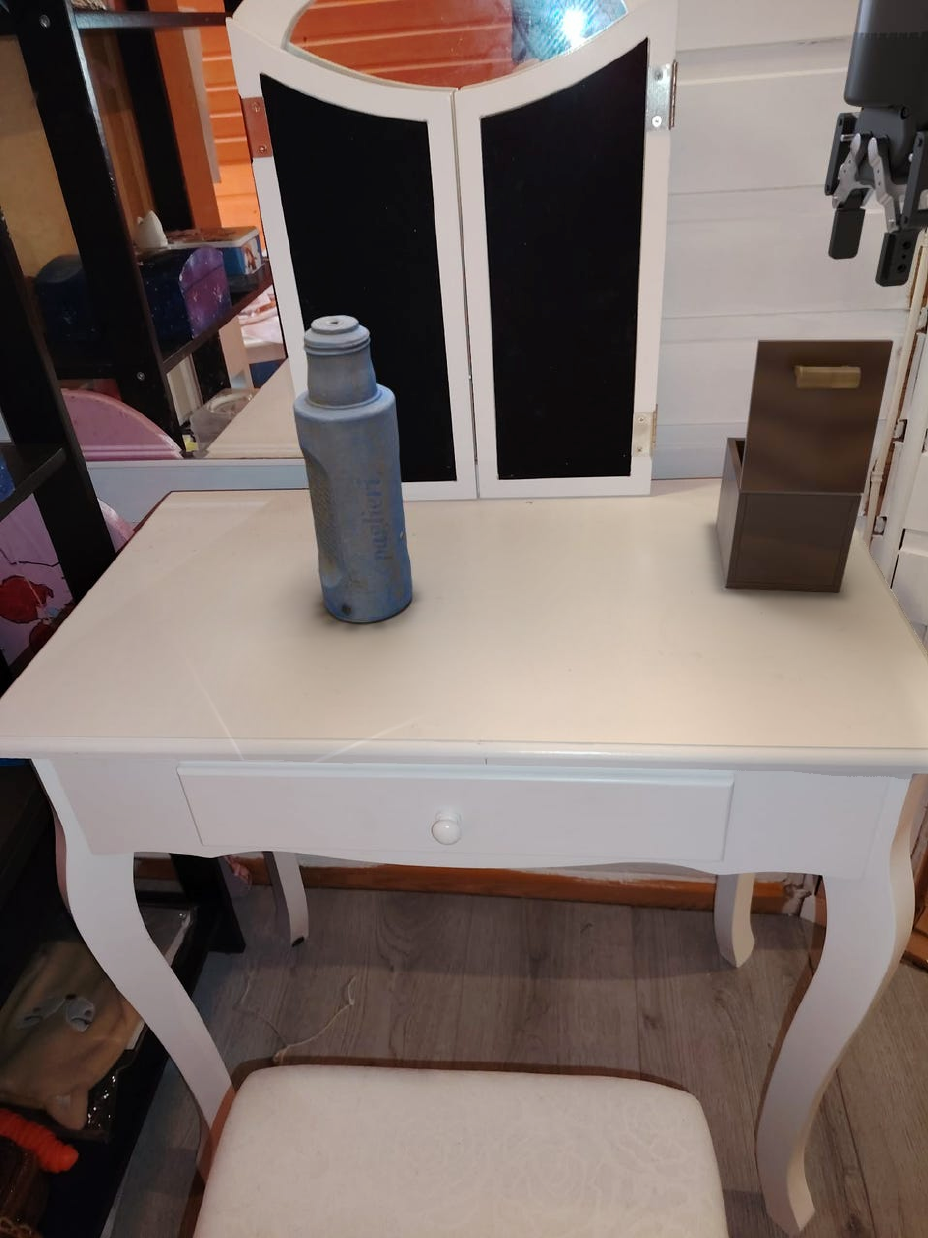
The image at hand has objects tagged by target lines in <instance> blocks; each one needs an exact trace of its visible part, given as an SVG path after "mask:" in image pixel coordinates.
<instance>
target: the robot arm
mask: <svg viewBox="0 0 928 1238" xmlns="http://www.w3.org/2000/svg"><path fill="white" fill-rule="evenodd" d="M849 55H850V56H849V60H848V61H849V62H848V66H847V72H846V78H845V83H844V90H843V100H844V103H846V104H847V105H848V106H850V107H855V108H860V111H852V112H840V113H839V114H838V116H837V118H836V124H835V128H834V129H835V130H834V134H833V140H832V144H831V145H832V146H831V151H830V156H829V160H828V166H827V171H826V177H825V181H824V182H825V183H824V187H823V188H824V191H823V193H824V196H825V197H830V196H832V199H831V206H832V208H833V209H835V211H834V216H833V221H832V228H831V234H830V239H829V245H828V251H827V255H828V257H829V258H830V259H833V260H834V261H838V260H840V261H841V260H851V259H854V258H855V257H856V256H857V255H858V253H859V249H860V243H861V237H862V233H863V227H864V223H865V217H866V212H867V209H866V208H863V207H866V205H867V204H868V203H869V201H870V199H871V197H872V195H873V193H874V192H875V197H876V202H877V203H878V204H880V205H882V206H883V208H884V217H885V226H886V231H887V232H884V234H883V239H882V244H881V249H880V254H879V259H878V263H877V267H876V273H875V278H874V281H875V283H876V284H877V285H879V286H880V287H882V288H891V287H901V286H904V285H905V284H906V283H907V282H908V281H909V278H910V274H911V269H912V265H913V261H914V256H915V252H916V247H917V243H918V238H919V236H920V233H921V232H924V231H926V229H928V203H927V202H928V201H927V196H928V0H858V6H857V13H856V19H855V24H854V30H853V36H852V41H851V49H850V54H849ZM901 203H903V204H902V210H901Z"/></svg>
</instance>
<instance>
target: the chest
mask: <svg viewBox="0 0 928 1238" xmlns="http://www.w3.org/2000/svg"><path fill="white" fill-rule="evenodd" d="M745 440H746V437H726V444H725V445H726V446H725V452H724V460H723V468H722V475H721V484H720V492H719V499H718V507H717V514H716V522H715V528H716V535H717V540H718V547H719V553H720V559H721V566H722V573H723V578H724V586H725V588H726V589H750V590H776V591H796V592H797V591H798V592H820V593H821V592H822V593H840V590H841V587H842V583H843V578H844V575H845V570H846V566H847V561H848V558H849V553H850V548H851V544H852V540H853V536H854V532H855V528H856V523H857V520H858V515H859V510H860V507H861V502H862V499H863V498H862V497H863V496H862V493H828V492H787V491H745V490H740V481H741V473H742V465H743V457H744V448H745Z"/></svg>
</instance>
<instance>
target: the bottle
mask: <svg viewBox="0 0 928 1238" xmlns="http://www.w3.org/2000/svg"><path fill="white" fill-rule="evenodd" d="M310 325H311V326H310V328H309V329H307V330H306V331H305V332H304V335H303V338H302V339H303V340H302V341H303V347H302V348H303V351H304V352H305V356H306V364H307V378H306V379H307V380H306V386H307V390H305V391H303V392H300V394H298V396H297V397H296V398H295V400H294V402H293V404H292V410H293V411H292V412H293V418H294V424H295V430H296V436H297V442H298V446H299V448H300V452H301V453H302V456H303V459H304V463H305V464H304V465H305V471H306V479H307V484H308V485H307V486H308V492H309V498H310V503H311V510H312V515H313V525H314V531H315V538H316V539H315V540H316V543H317V544H316V545H317V562H318V566H317V567H318V570H317V571H318V577H319V581H320V587H321V592H322V593H321V594H322V597H323V603H324V606H325V608H326V609H327V611H329V613H330V614H332V615H333V616H335V617H336V618H338V619H341V620H344V621H347V622H353V623H370V622H376V621H381V620H385V619H387V618H390V617H392V616H394V615H396V614H398V613H400V612H401V611H403V610H404V609H405V608H406V606H407V605H408V604H409V603H410V602H411V600H412V599H413V577H412V566H411V565H412V564H411V559H410V558H411V557H410V554H409V550H408V541H407V531H406V516H405V509H404V508H405V507H404V498H403V496H404V495H403V485H402V476H401V462H400V437H399V425H398V418H397V404H396V396H395V394H394V392H393V391H392V390H391V389H390V388H389V387H386V386H385V385H383V384H379V383H377V378H376V372H375V369H374V365H373V362H372V358H371V348H370V343H371V337H370V331H369V329H368V328H367V327H365V326H363V325H361V324H359V321H358V319H356V318H355V317H353V316H350V315H349V316H348V315H332V316H330V315H329V316H323V317H320V318H317V319H315V320H313V321H312V323H311V324H310Z"/></svg>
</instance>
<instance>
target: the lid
mask: <svg viewBox="0 0 928 1238" xmlns="http://www.w3.org/2000/svg"><path fill="white" fill-rule="evenodd" d="M893 346H894V340H893V339H758V340H757V345H756V353H755V360H754V370H753V376H752V386H751V393H750V401H749V402H750V403H749V409H748V417H747V424H746V434H745V438H746V440H745V448H744V457H743V465H742V473H741V481H740V490H745V491H787V492H828V493H861V494H864V493H865V490H866V484H867V478H868V474H869V469H870V465H871V459H872V454H873V449H874V443H875V438H876V433H877V429H878V423H879V417H880V413H881V407H882V403H883V398H884V392H885V388H886V382H887V377H888V371H889V367H890V362H891V356H892V351H893Z"/></svg>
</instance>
